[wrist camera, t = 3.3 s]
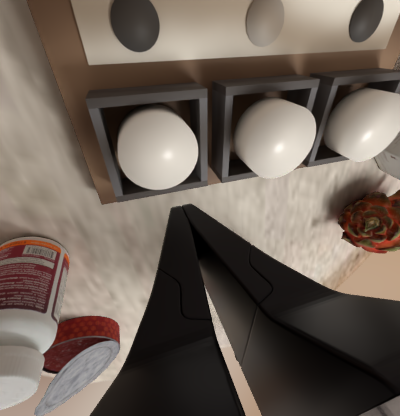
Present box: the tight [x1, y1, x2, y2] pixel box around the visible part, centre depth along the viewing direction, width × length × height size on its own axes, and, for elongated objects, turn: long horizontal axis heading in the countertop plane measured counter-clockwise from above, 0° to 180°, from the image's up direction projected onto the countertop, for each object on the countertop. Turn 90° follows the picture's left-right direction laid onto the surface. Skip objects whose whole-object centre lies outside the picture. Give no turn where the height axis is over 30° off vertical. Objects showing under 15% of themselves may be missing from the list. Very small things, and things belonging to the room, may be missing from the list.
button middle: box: [233, 97, 316, 179], centre depth 16 cm, size 5×5×2 cm
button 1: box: [324, 87, 400, 162], centre depth 17 cm, size 5×5×2 cm
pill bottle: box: [0, 237, 70, 410], centre depth 18 cm, size 6×6×11 cm
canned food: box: [35, 316, 120, 416], centre depth 30 cm, size 11×10×10 cm
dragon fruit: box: [338, 190, 400, 253], centre depth 31 cm, size 8×8×12 cm
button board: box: [27, 0, 400, 205], centre depth 17 cm, size 14×26×4 cm, turn 91°
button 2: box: [117, 104, 198, 190], centre depth 15 cm, size 5×5×2 cm
